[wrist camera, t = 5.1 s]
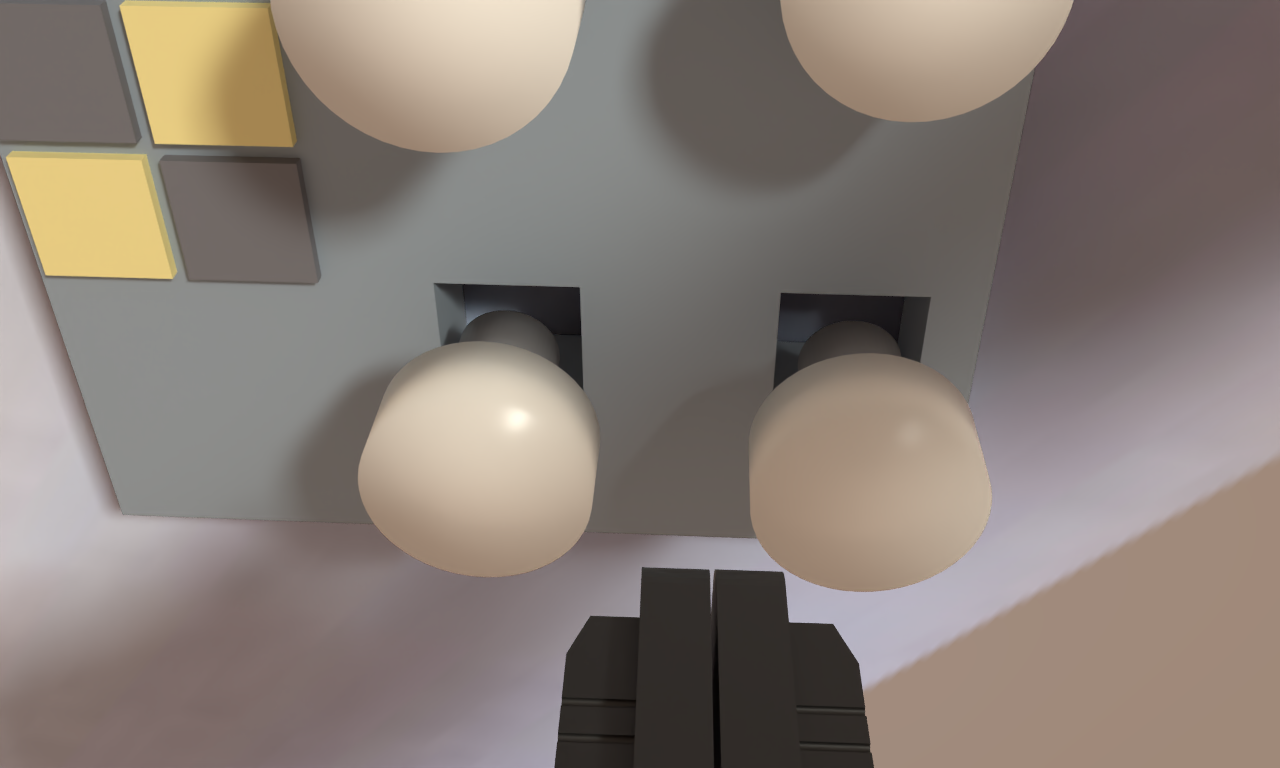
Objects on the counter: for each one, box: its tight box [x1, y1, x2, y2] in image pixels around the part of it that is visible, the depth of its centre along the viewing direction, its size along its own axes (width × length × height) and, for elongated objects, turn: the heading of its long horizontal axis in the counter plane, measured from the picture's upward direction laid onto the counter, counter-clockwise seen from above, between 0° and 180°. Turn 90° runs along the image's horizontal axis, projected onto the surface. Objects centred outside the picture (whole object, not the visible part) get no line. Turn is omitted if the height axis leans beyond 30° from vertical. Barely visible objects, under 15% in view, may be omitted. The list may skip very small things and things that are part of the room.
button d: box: [358, 310, 600, 577], centre depth 27 cm, size 5×5×5 cm
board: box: [0, 0, 1035, 538], centre depth 27 cm, size 22×22×3 cm
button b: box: [749, 321, 992, 592], centre depth 27 cm, size 5×5×5 cm
